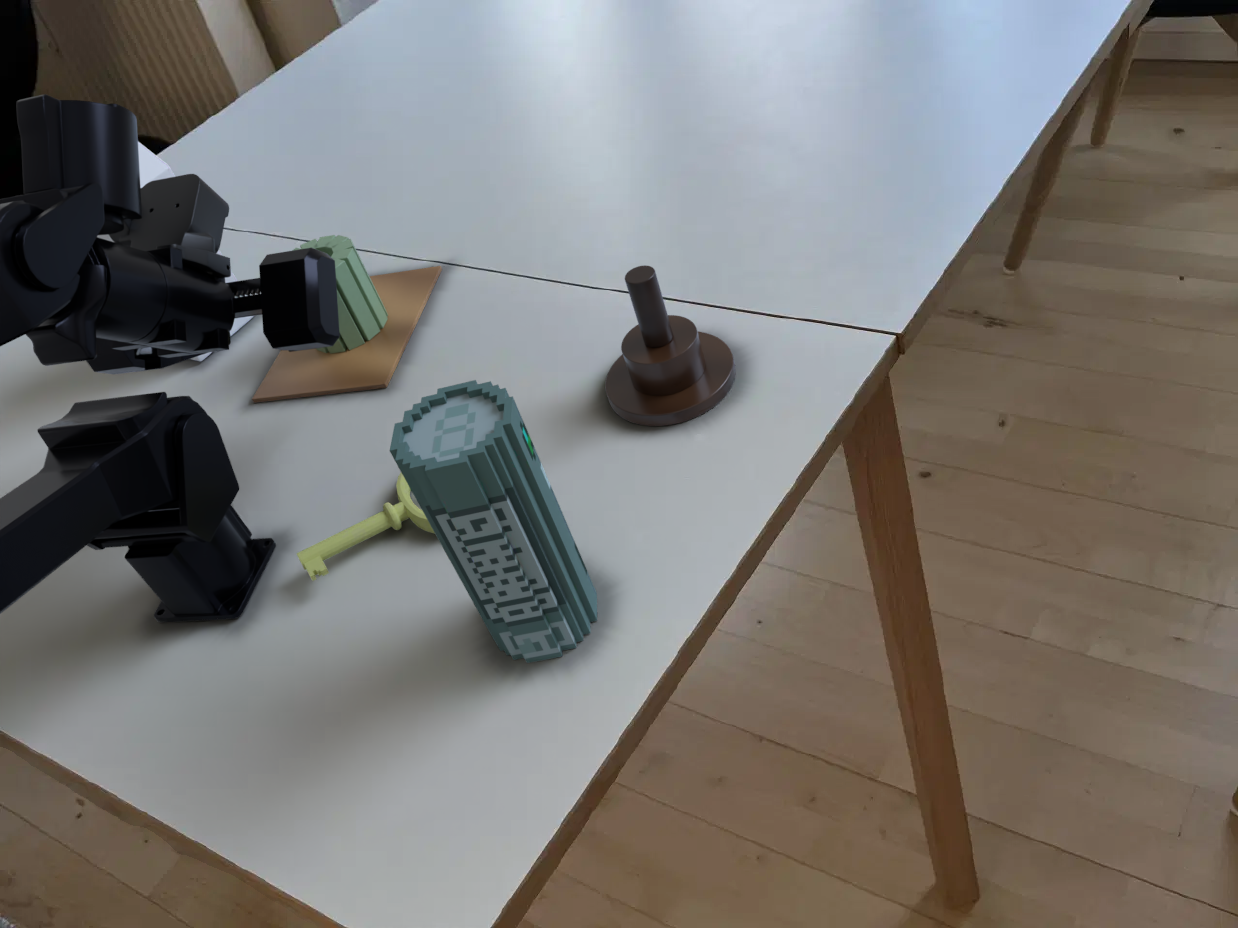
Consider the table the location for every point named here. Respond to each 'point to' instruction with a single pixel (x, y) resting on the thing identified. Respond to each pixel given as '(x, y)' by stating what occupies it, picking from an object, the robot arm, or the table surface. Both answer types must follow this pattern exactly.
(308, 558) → the key
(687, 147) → the table surface
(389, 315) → the cork mat
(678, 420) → the ring holder
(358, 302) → the ring
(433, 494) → the can
